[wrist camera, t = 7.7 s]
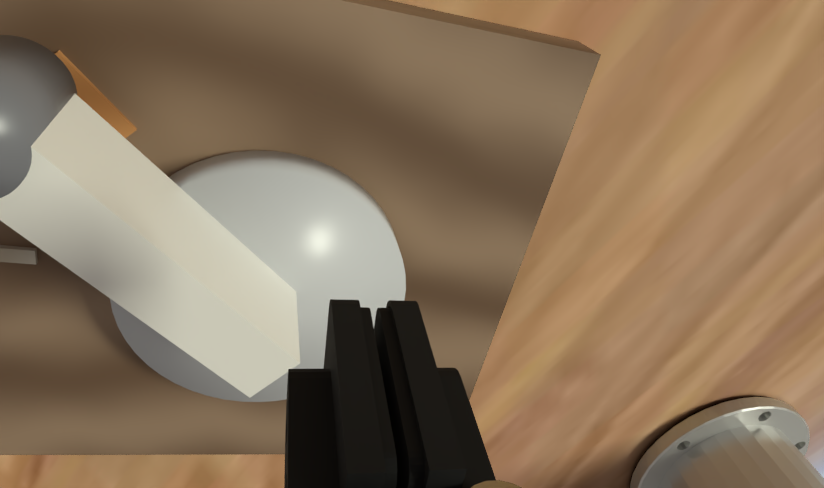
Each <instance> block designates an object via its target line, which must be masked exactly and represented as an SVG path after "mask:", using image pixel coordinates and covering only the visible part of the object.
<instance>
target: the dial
mask: <svg viewBox="0 0 824 488" xmlns="http://www.w3.org/2000/svg"><path fill="white" fill-rule="evenodd" d="M0 221H2V222H3V223H5V224H6V225H7V226H9V227H10V228H12V229H13V230H14V231H16V232H17V233H19V234H20V235H21V236H23V237H24V238H26V239H27V240H28V241H30V242H31V243H33V244H34V245H36V246H37V247H38V248H40V249H41V250H43V251H44V252H45V253H47V254H48V255H50V256H51V257H52V258H54V259H55V260H57V261H58V262H59V263H61V264H62V265H64V266H65V267H66V268H68V269H69V270H71V271H72V272H74V273H75V274H76V275H78V276H79V277H81V278H82V279H83V280H85V281H86V282H88V283H89V284H90V285H92V286H93V287H95V288H96V289H97V290H99V291H100V292H102V293H103V294H104V295H106V296H107V297H109V298H110V302H111V307H112V312H113V315H114V318H115V320H116V323H117V326H118V328H119V330H120V331H121V333H122V335H123V337H124V339H125V340H126V342H127V343H128V344H129V346H130V347H131V348H132V349H133V351H134V352H135V353H136V354H137V355H138V356H139V357H140V358H141V359H142V360H143V361H144V362H145V363H146V364H147V365H148V366H149V367H151V368H152V369H153V370H155V371H156V372H157V373H159V374H160V375H162V376H163V377H165V378H167V379H168V380H170V381H172V382H174V383H175V384H178V385H180V386H182V387H184V388H187V389H189V390H191V391H194V392H197V393H200V394H203V395H206V396H211V397H215V398H220V399H224V400H232V401H241V402H268V401H279V400H286V399H287V381H288V369H323V368H324V357H325V346H326V335H327V323H328V312H329V303H330V300H331V299H337V300H359V302H360V307H368V308H370V310H371V316H372V321H373V327H374V325H375V317H376V311H377V308H386V306H387V302H388V301H389V300H396V301H404V300H405V292H406V274H405V269H404V264H403V259H402V256H401V253H400V250H399V247H398V244H397V240H396V237H395V235H394V232H393V229H392V226H391V224H390V222H389V220H388V218H387V217H386V215H385V213H384V211H383V210H382V208H381V207H380V206H379V204H378V203H377V202H376V200H375V199H374V198H373V197H372V196H371V195H370V194H369V193H368V192H367V191H366V190H365V189H364V188H363V187H362V186H361V185H360V184H358V183H357V182H356V181H354V180H353V179H352V178H350V177H349V176H348V175H346V174H344V173H342V172H340V171H339V170H337V169H335V168H333V167H332V166H329V165H327V164H324V163H322V162H319V161H317V160H314V159H311V158H308V157H304V156H300V155H296V154H291V153H285V152H278V151H256V150H253V151H242V152H232V153H228V154H223V155H218V156H214V157H211V158H208V159H205V160H202V161H199V162H196V163H193V164H191V165H189V166H187V167H185V168H183V169H181V170H179V171H177V172H176V173H174V174H173V175H171V176H170V177H168V176H167V175H166V174H164V173H163V172H162V171H161V170H160V169H159V168H158V167H157V166H156V165H154V164H153V163H152V162H151V161H150V160H149V159H148V158H147V157H146V156H144V155H143V154H142V153H141V152H140V151H139V150H138V149H137V148H135V147H134V146H133V145H132V144H131V143H130V142H129V141H128V140H127V139H125V138H124V137H123V136H122V135H121V134H120V133H119V132H118V131H117V130H115V129H114V128H113V127H112V126H111V125H110V124H109V123H108V122H106V121H105V120H104V119H103V118H102V117H101V116H100V115H99V114H98V113H96V112H95V111H94V110H93V109H92V108H91V107H90V106H89V105H88V104H86V103H85V102H84V101H83V100H82V99H81V98H80V97H79V96H77V89H76V85H75V82H74V79H73V77H72V75H71V73H70V71H69V70H68V68H67V67H66V66H65V64H64V63H63V62H62V61H61V60H60V59H59V58H58V57H57V56H56V55H55V54H54V53H53V52H51V51H50V50H49V49H47V48H46V47H44V46H42V45H41V44H39V43H37V42H34V41H32V40H30V39H26V38H23V37H19V36H13V35H0Z"/></svg>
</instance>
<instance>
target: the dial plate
mask: <svg viewBox="0 0 824 488" xmlns="http://www.w3.org/2000/svg"><path fill="white" fill-rule="evenodd" d="M0 35H13V36H19V37H23V38H26V39H30V40H32V41H34V42H37V43H39V44H41V45H42V46H44V47H46V48H47V49H49V50H50V51H51V52H53V53H54V54H55V55H56V56H57V57H58V58H59V59H60V60H61V61H62V62H63V63H64V64H65V66H66V67H67V68H68V70H69V71H70V73H71V75H72V77H73V79H74V82H75V85H76V89H77V96H79V97H80V98H81V99H82V100H83V101H84V102H85V103H86V104H88V105H89V106H90V107H91V108H92V109H93V110H94V111H95V112H96V113H98V114H99V115H100V116H101V117H102V118H103V119H104V120H105V121H106V122H108V123H109V124H110V125H111V126H112V127H113V128H114V129H115V130H117V131H118V132H119V133H120V134H121V135H122V136H123V137H124V138H125V139H127V140H128V141H129V142H130V143H131V144H132V145H133V146H134V147H135V148H137V149H138V150H139V151H140V152H141V153H142V154H143V155H144V156H146V157H147V158H148V159H149V160H150V161H151V162H152V163H153V164H154V165H156V166H157V167H158V168H159V169H160V170H161V171H162V172H163V173H164V174H166V175H167V176H168V177H170V176H171V175H173V174H174V173H176V172H177V171H179V170H181V169H183V168H185V167H187V166H189V165H191V164H193V163H196V162H199V161H202V160H205V159H208V158H211V157H214V156H218V155H223V154H228V153H232V152H242V151H253V150H256V151H278V152H285V153H291V154H296V155H300V156H304V157H308V158H311V159H314V160H317V161H319V162H322V163H324V164H327V165H329V166H332V167H333V168H335V169H337V170H339V171H340V172H342V173H344V174H346V175H348V176H349V177H350V178H352V179H353V180H354V181H356V182H357V183H358V184H360V185H361V186H362V187H363V188H364V189H365V190H366V191H367V192H368V193H369V194H370V195H371V196H372V197H373V198H374V199H375V200H376V202H377V203H378V204H379V206H380V207H381V208H382V210H383V211H384V213H385V215H386V217H387V218H388V220H389V222H390V224H391V226H392V229H393V232H394V235H395V237H396V240H397V244H398V247H399V250H400V253H401V256H402V259H403V264H404V269H405V274H406V292H405V300H404V301H417V303H418V305H419V308H420V312H421V315H422V318H423V322H424V325H425V328H426V332H427V335H428V339H429V342H430V345H431V349H432V352H433V356H434V359H435V362H436V366H437V368H456V369H457V370H458V371H459V374H460V376H461V378H462V381H463V384H464V387H465V390H466V393H467V396H468V399H470V397H471V394H472V392H473V389H474V386H475V384H476V381H477V378H478V376H479V373H480V371H481V368H482V365H483V363H484V360H485V357H486V355H487V352H488V350H489V347H490V344H491V342H492V339H493V336H494V334H495V331H496V329H497V326H498V323H499V321H500V318H501V315H502V313H503V310H504V308H505V305H506V302H507V300H508V297H509V294H510V292H511V289H512V287H513V284H514V281H515V279H516V276H517V273H518V271H519V268H520V266H521V263H522V260H523V258H524V255H525V252H526V250H527V247H528V245H529V242H530V239H531V237H532V234H533V231H534V229H535V226H536V224H537V221H538V218H539V216H540V213H541V210H542V208H543V205H544V203H545V200H546V197H547V195H548V192H549V189H550V187H551V184H552V182H553V179H554V176H555V174H556V171H557V168H558V166H559V163H560V161H561V158H562V155H563V153H564V150H565V147H566V145H567V142H568V140H569V137H570V134H571V132H572V129H573V126H574V124H575V121H576V119H577V116H578V113H579V111H580V108H581V105H582V103H583V100H584V98H585V95H586V92H587V90H588V87H589V84H590V82H591V79H592V77H593V74H594V71H595V69H596V66H597V63H598V61H599V58H600V56H601V55H600V54H598V53H597V52H595V51H593V50H592V49H590V48H588V47H587V46H585V45H583V44H582V43H580V42H578V41H574V40H569V39H565V38H560V37H555V36H551V35H546V34H541V33H537V32H532V31H527V30H523V29H518V28H514V27H509V26H504V25H500V24H495V23H490V22H486V21H481V20H476V19H472V18H467V17H463V16H458V15H453V14H449V13H444V12H439V11H435V10H430V9H426V8H421V7H416V6H412V5H407V4H402V3H398V2H393V1H388V0H0ZM286 401H287V399H286V400H279V401H268V402H241V401H232V400H224V399H220V398H215V397H211V396H206V395H203V394H200V393H197V392H194V391H191V390H189V389H187V388H184V387H182V386H180V385H178V384H175V383H174V382H172V381H170V380H168V379H167V378H165V377H163V376H162V375H160V374H159V373H157V372H156V371H155V370H153V369H152V368H151V367H149V366H148V365H147V364H146V363H145V362H144V361H143V360H142V359H141V358H140V357H139V356H138V355H137V354H136V353H135V352H134V351H133V349H132V348H131V347H130V346H129V344H128V343H127V342H126V340H125V339H124V337H123V335H122V333H121V331H120V330H119V328H118V326H117V323H116V320H115V318H114V315H113V312H112V307H111V302H110V298H109V297H107V296H106V295H104V294H103V293H102V292H100V291H99V290H97V289H96V288H95V287H93V286H92V285H90V284H89V283H88V282H86V281H85V280H83V279H82V278H81V277H79V276H78V275H76V274H75V273H74V272H72V271H71V270H69V269H68V268H66V267H65V266H64V265H62V264H61V263H59V262H58V261H57V260H55V259H54V258H52V257H51V256H50V255H48V254H47V253H45V252H44V251H43V250H41V249H40V248H38V247H37V246H36V245H34V244H33V243H31V242H30V241H28V240H27V239H26V238H24V237H23V236H21V235H20V234H19V233H17V232H16V231H14V230H13V229H12V228H10V227H9V226H7V225H6V224H5V223H3V222H2V221H0V455H156V454H285V429H286Z"/></svg>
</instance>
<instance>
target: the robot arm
mask: <svg viewBox="0 0 824 488" xmlns="http://www.w3.org/2000/svg"><path fill="white" fill-rule="evenodd" d="M809 439H810V436H809V428H808V426H807V424H806V422H805V420H804V419H803V418H802V417H801V415H800V414H799V413H798V412H797V411H796V410H795V409H794V408H793V407H792V406H790V405H789V404H787V403H786V402H784V401H781V400H777V399H774V398H766V397H749V398H739V399H735V400H731V401H727V402H723V403H720V404H717V405H714V406H712V407H709V408H706V409H704V410H702V411H700V412H698V413H696V414H694V415H692V416H690V417H688V418H686V419H685V420H683V421H682V422H680V423H678V424H677V425H675V426H674V427H672V428H671V429H670V430H669V431H667V432H666V433H665V434H664V435H662V436H661V437H660V438H659V439H658V440H657V441H656V442H655V443H654V444H653V445H652V446H651V447H650V448H649V449H648V450H647V451H646V453H645V454H644V455H643V457H642V458H641V459H640V461H639V463H638V465H637V467H636V469H635V471H634V473H633V475H632V479H631V484H630V488H824V478H823V477H822V476H821V475H820V473H819V472H818V471H817V470H816V469H815V468H814V467H813V466H812V464H811V463H810V462H809V461H808V460H807V459H806V458H805V457H804V456H805V454H806V451H807V448H808V444H809ZM285 488H521V487H519V486H517V485H515V484H513V483H509V482H505V481H500V480H496V479H495V476H494V473H493V470H492V467H491V464H490V461H489V458H488V455H487V452H486V450H485V447H484V444H483V441H482V438H481V435H480V432H479V429H478V426H477V423H476V420H475V417H474V414H473V411H472V408H471V405H470V402H469V399H468V396H467V393H466V390H465V387H464V384H463V381H462V378H461V376H460V374H459V371H458V370H457V369H456V368H437V366H436V362H435V359H434V356H433V352H432V349H431V345H430V342H429V339H428V335H427V332H426V328H425V325H424V322H423V318H422V315H421V312H420V308H419V305H418V303H417V301H396V300H389V301H388V302H387V306H386V308H377V311H376V317H375V325H374V327H373V321H372V316H371V310H370V308H368V307H360V302H359V300H337V299H331V300H330V303H329V312H328V323H327V335H326V346H325V357H324V368H323V369H288V381H287V401H286V429H285Z"/></svg>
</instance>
